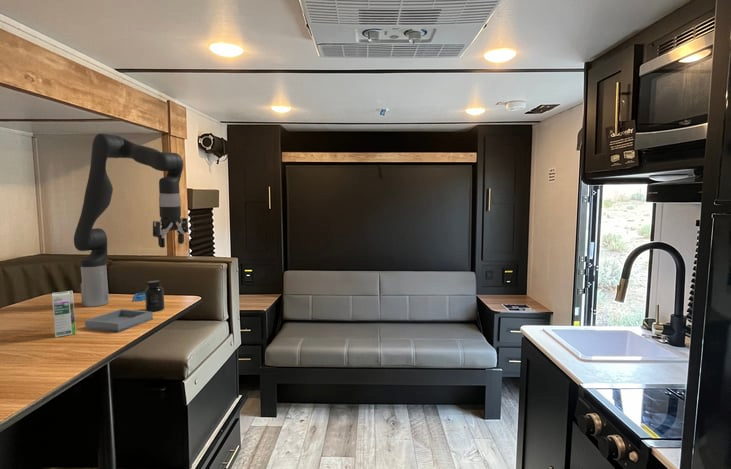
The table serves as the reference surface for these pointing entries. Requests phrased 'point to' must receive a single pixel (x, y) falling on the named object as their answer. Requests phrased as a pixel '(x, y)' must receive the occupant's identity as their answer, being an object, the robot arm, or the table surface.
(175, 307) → the table surface
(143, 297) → the handheld gaming device
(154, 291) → the supplement bottle
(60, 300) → the syrup box
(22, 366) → the table surface
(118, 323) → the tray
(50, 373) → the table surface
